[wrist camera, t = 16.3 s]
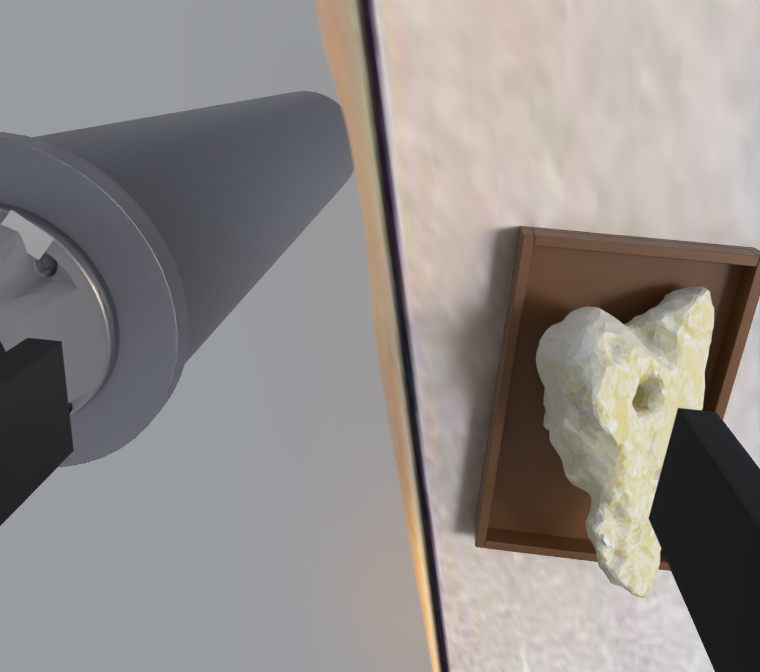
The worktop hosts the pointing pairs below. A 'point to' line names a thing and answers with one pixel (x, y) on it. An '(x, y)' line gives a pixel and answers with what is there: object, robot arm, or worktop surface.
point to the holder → (526, 391)
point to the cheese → (623, 416)
